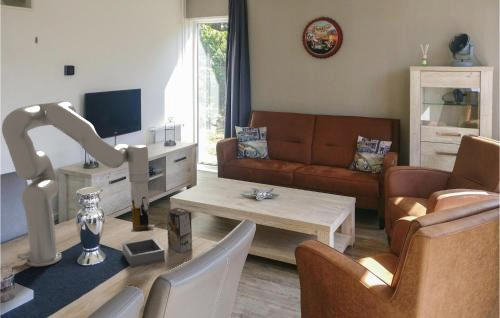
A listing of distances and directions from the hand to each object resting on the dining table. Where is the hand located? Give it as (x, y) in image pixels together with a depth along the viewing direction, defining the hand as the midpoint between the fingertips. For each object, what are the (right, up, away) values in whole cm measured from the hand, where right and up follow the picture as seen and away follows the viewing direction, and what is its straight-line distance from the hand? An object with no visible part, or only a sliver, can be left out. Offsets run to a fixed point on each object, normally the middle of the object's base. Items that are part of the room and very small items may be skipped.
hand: (141, 221), depth 180 cm
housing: (0, -15, +3) cm, 15 cm away
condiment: (0, -3, 0) cm, 3 cm away
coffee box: (+13, -13, +12) cm, 22 cm away
